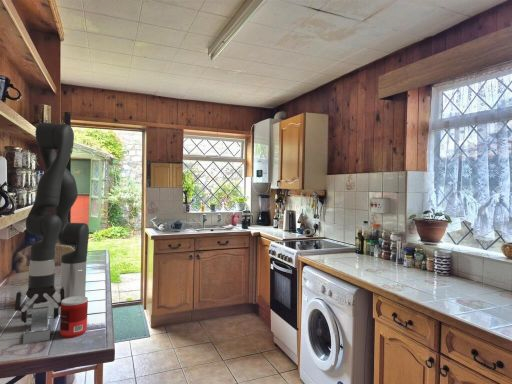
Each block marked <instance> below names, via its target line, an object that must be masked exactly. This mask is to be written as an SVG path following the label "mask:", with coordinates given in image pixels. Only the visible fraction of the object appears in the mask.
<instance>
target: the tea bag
mask: <svg viewBox="0 0 512 384" xmlns="http://www.w3.org/2000/svg"><path fill="white" fill-rule="evenodd" d="M54 287H55V286H54ZM57 288H61V287H60V286H57V287H55V289H57ZM53 297H54V298H55V300H56V301H57V302H60V301H61V299H60V295H59V294H58V293H57V292H55V293H54V295H53ZM46 303H49V313H48V317H54V306H53V305H52V304H51V303H50V302H49V301H47V302H46ZM40 304H42V303H41V302H40ZM60 315H61V306H60V307H59V311H58V316H60Z"/></svg>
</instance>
